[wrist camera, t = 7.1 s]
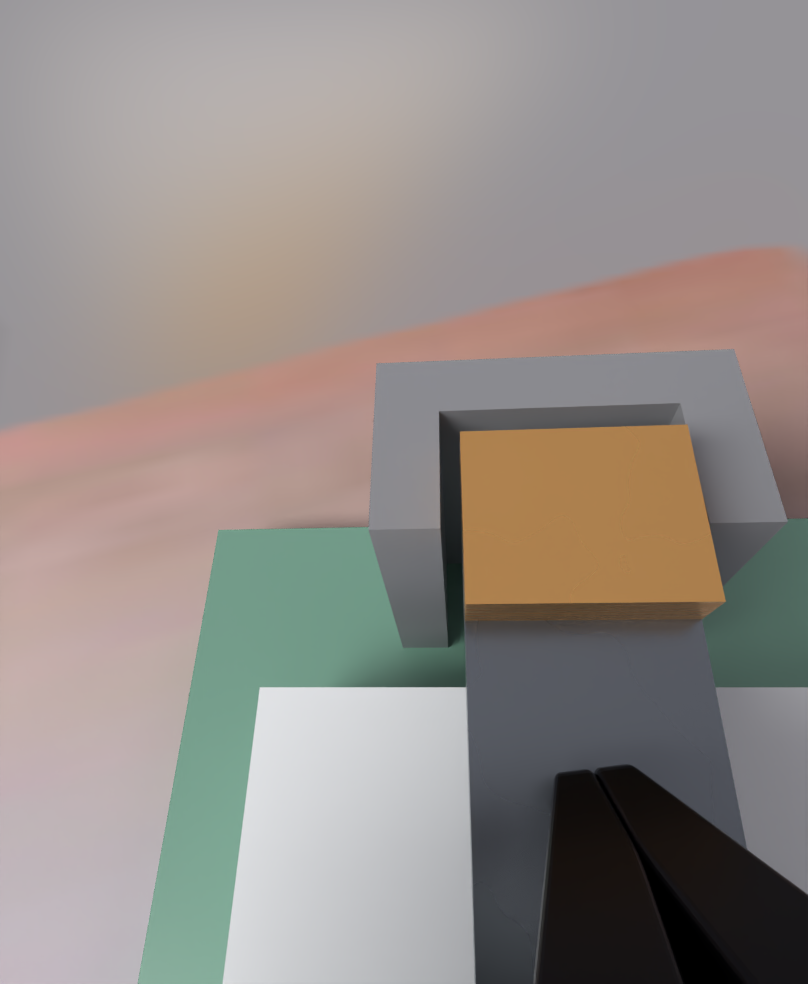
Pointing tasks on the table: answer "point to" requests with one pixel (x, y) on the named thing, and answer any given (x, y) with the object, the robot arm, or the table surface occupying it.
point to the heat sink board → (436, 684)
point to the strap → (580, 648)
